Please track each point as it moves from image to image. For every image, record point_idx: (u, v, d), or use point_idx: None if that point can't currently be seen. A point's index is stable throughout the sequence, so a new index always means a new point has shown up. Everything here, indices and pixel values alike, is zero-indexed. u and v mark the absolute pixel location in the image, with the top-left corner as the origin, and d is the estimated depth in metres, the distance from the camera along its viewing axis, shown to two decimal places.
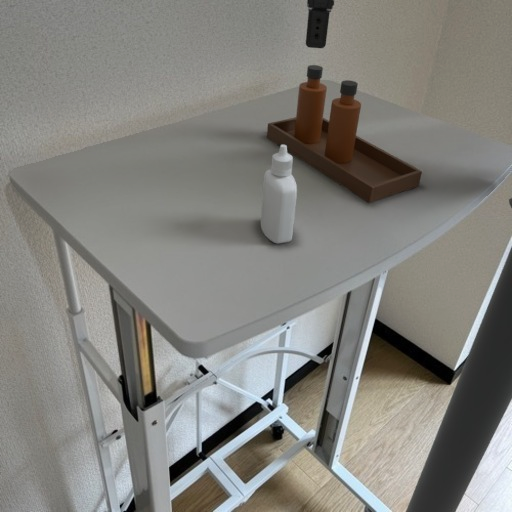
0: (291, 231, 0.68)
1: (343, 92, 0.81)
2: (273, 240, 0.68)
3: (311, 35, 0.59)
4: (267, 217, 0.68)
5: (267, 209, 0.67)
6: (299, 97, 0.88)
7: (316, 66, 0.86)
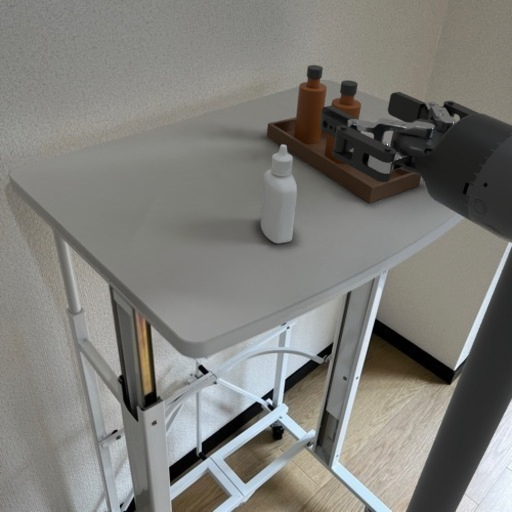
0: (291, 231, 0.68)
1: (343, 92, 0.81)
2: (273, 240, 0.68)
3: None
4: (267, 217, 0.68)
5: (267, 209, 0.67)
6: (299, 97, 0.88)
7: (316, 66, 0.86)
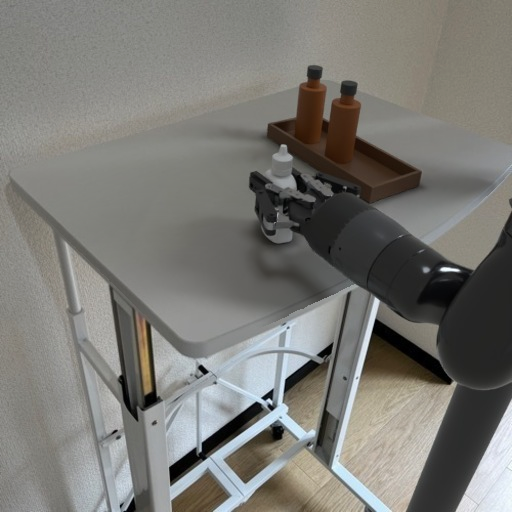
0: (291, 231, 0.68)
1: (343, 92, 0.81)
2: (273, 240, 0.68)
3: None
4: None
5: None
6: (299, 97, 0.88)
7: (316, 66, 0.86)
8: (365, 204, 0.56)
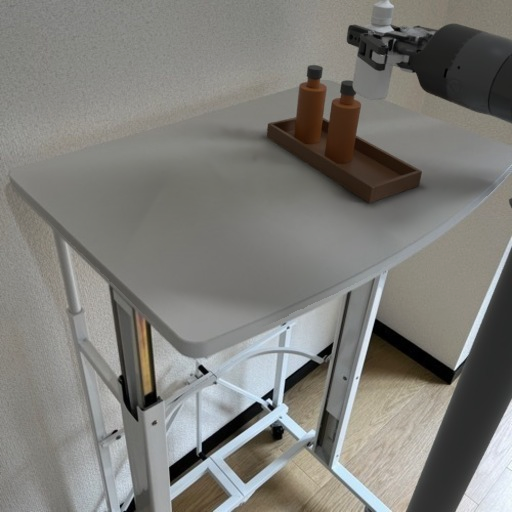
0: (388, 86, 0.68)
1: (343, 92, 0.81)
2: (369, 96, 0.69)
3: None
4: (364, 72, 0.68)
5: (364, 64, 0.68)
6: (299, 97, 0.88)
7: (316, 66, 0.86)
8: (479, 30, 0.57)
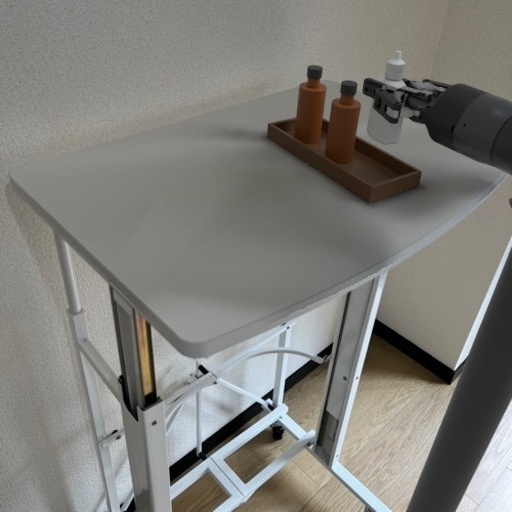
0: (399, 133, 0.76)
1: (343, 92, 0.81)
2: (382, 141, 0.76)
3: None
4: (377, 120, 0.76)
5: None
6: (299, 97, 0.88)
7: (316, 66, 0.86)
8: None
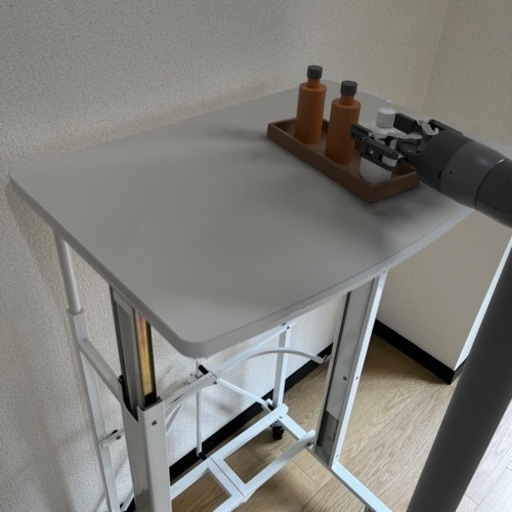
0: (390, 175, 0.80)
1: (343, 92, 0.81)
2: (374, 183, 0.80)
3: None
4: (369, 163, 0.80)
5: None
6: (299, 97, 0.88)
7: (316, 66, 0.86)
8: (468, 138, 0.68)
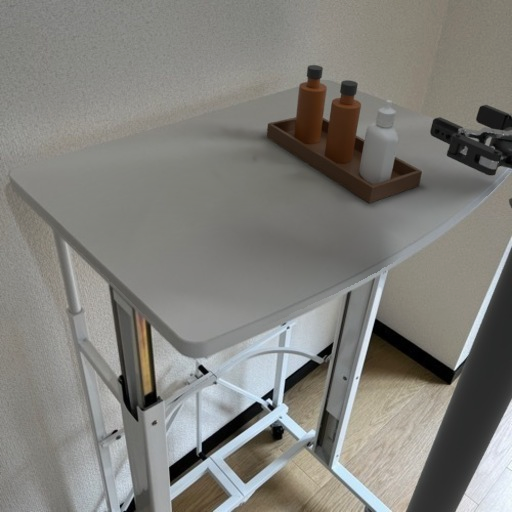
0: (390, 175, 0.80)
1: (343, 92, 0.81)
2: (374, 183, 0.80)
3: None
4: (369, 163, 0.80)
5: (370, 157, 0.79)
6: (299, 97, 0.88)
7: (316, 66, 0.86)
8: None
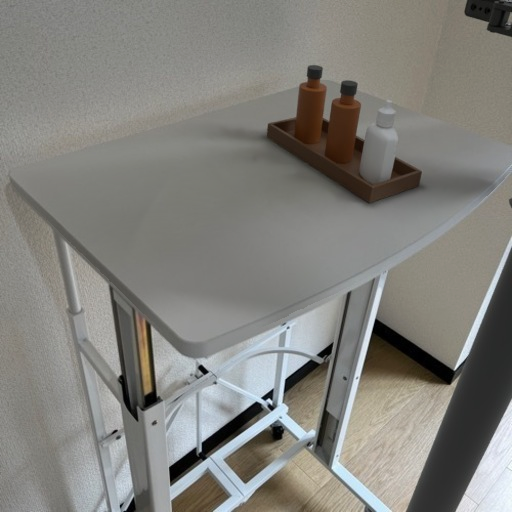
0: (390, 175, 0.80)
1: (343, 92, 0.81)
2: (374, 183, 0.80)
3: None
4: (369, 163, 0.80)
5: (370, 157, 0.79)
6: (299, 97, 0.88)
7: (316, 66, 0.86)
8: None
